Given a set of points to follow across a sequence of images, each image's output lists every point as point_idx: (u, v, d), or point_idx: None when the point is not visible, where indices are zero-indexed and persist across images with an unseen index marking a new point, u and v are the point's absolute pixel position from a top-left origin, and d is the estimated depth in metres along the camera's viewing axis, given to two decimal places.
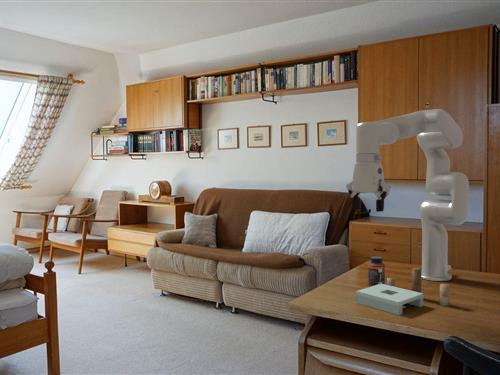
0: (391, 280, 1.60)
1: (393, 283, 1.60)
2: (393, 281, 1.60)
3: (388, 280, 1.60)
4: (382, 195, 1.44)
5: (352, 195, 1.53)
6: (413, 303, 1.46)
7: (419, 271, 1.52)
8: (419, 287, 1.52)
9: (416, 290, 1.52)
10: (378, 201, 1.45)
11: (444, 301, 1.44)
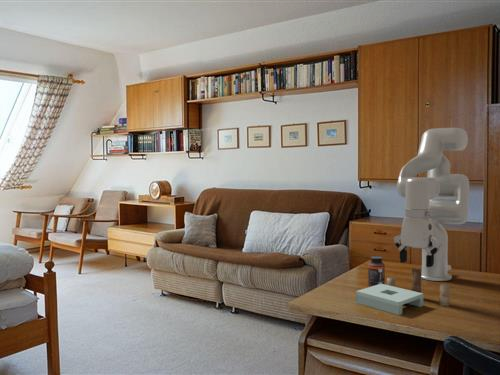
0: (391, 280, 1.60)
1: (393, 283, 1.60)
2: (393, 281, 1.60)
3: (388, 280, 1.60)
4: (432, 251, 1.47)
5: (400, 248, 1.55)
6: (413, 303, 1.46)
7: (419, 271, 1.52)
8: (419, 287, 1.52)
9: (416, 290, 1.52)
10: (428, 257, 1.47)
11: (444, 301, 1.44)
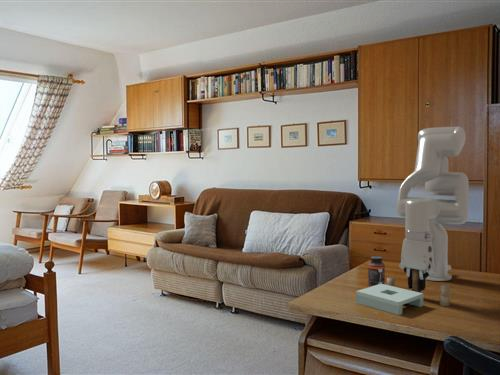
0: (391, 280, 1.60)
1: (393, 283, 1.60)
2: (393, 281, 1.60)
3: (388, 280, 1.60)
4: (424, 275, 1.50)
5: (407, 274, 1.54)
6: (413, 303, 1.46)
7: None
8: None
9: (416, 290, 1.52)
10: (420, 281, 1.51)
11: (444, 301, 1.44)
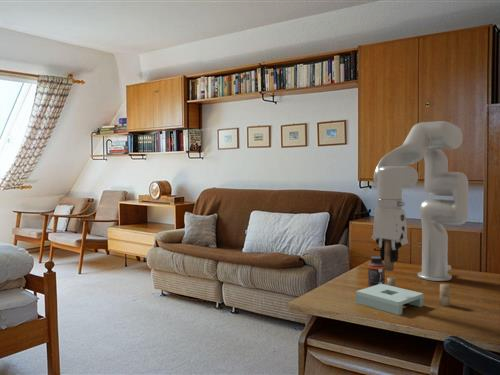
0: (392, 280, 1.59)
1: (393, 283, 1.60)
2: (394, 281, 1.60)
3: (389, 280, 1.60)
4: (396, 246, 1.43)
5: (380, 245, 1.47)
6: (413, 303, 1.46)
7: None
8: None
9: (388, 261, 1.44)
10: (392, 251, 1.43)
11: (444, 301, 1.44)
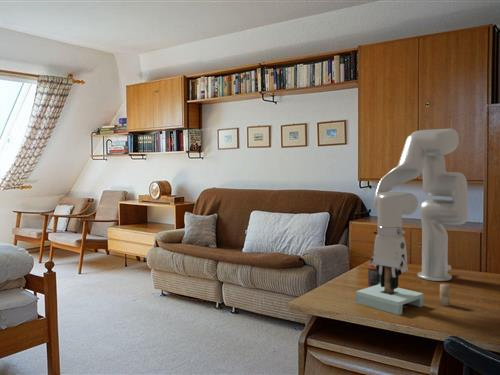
0: None
1: None
2: None
3: None
4: (397, 273, 1.43)
5: (380, 271, 1.47)
6: (413, 303, 1.46)
7: (391, 268, 1.45)
8: None
9: (388, 288, 1.45)
10: (392, 279, 1.44)
11: (444, 301, 1.44)
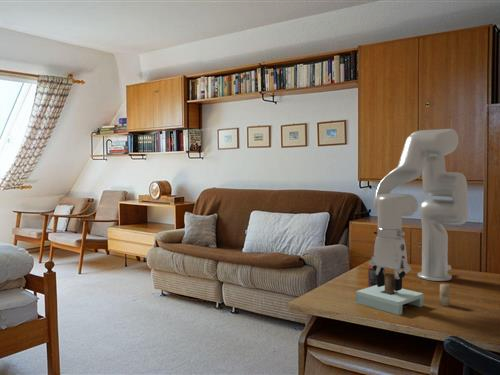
0: None
1: None
2: None
3: None
4: (400, 275, 1.42)
5: (377, 272, 1.49)
6: (413, 303, 1.46)
7: (392, 276, 1.45)
8: (392, 293, 1.45)
9: None
10: (396, 280, 1.43)
11: (444, 301, 1.44)
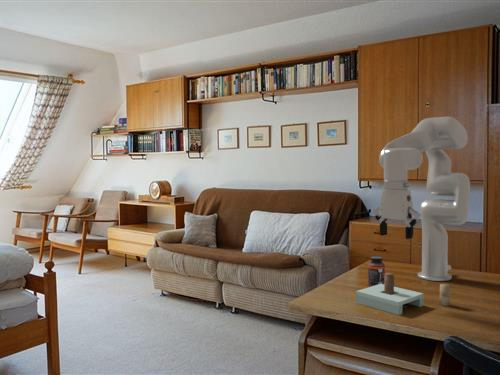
0: None
1: None
2: None
3: None
4: (412, 223, 1.44)
5: (380, 221, 1.53)
6: (413, 303, 1.46)
7: (391, 276, 1.45)
8: (391, 293, 1.45)
9: None
10: (407, 229, 1.45)
11: (444, 301, 1.44)
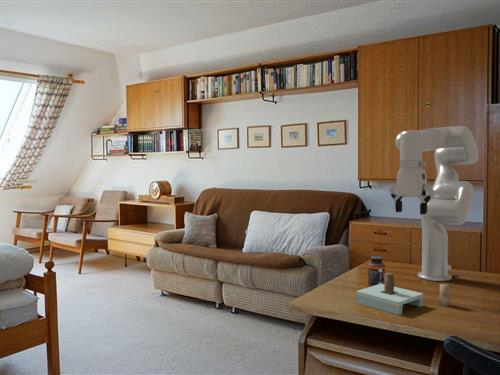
0: None
1: (394, 283, 1.60)
2: (394, 281, 1.60)
3: None
4: (426, 199, 1.55)
5: (395, 199, 1.63)
6: (413, 303, 1.46)
7: (391, 276, 1.45)
8: (391, 293, 1.45)
9: None
10: (422, 204, 1.55)
11: (444, 301, 1.44)
